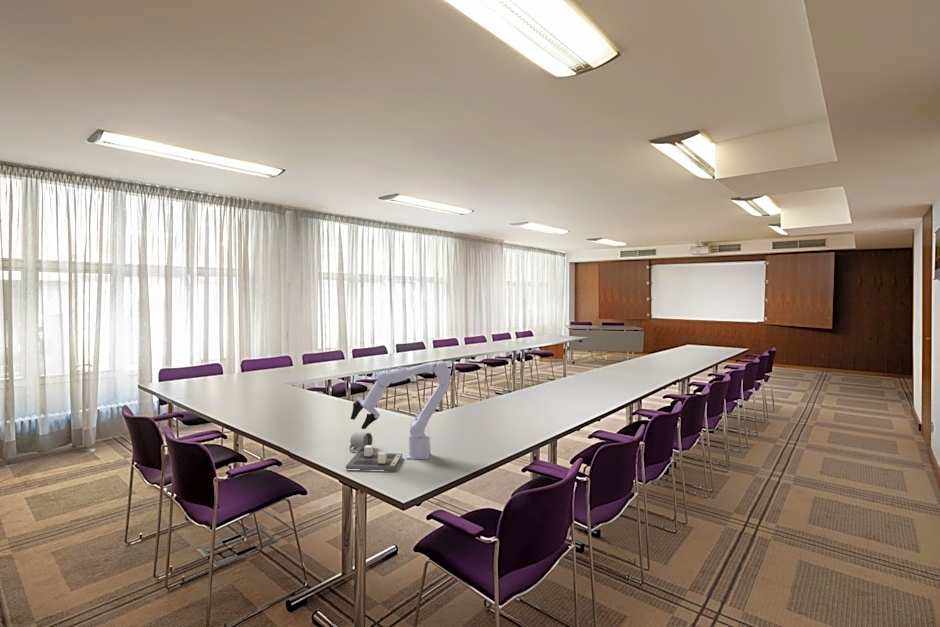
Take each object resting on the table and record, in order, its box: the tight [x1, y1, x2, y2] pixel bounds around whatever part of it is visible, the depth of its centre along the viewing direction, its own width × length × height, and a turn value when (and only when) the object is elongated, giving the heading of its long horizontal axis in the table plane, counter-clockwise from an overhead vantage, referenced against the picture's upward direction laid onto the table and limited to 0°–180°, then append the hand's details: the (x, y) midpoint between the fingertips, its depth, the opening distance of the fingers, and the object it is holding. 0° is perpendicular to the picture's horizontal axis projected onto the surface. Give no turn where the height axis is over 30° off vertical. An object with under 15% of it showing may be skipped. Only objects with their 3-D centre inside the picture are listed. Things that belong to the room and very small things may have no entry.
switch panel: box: [345, 452, 403, 472], centre depth 196 cm, size 20×16×2 cm
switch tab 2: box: [377, 451, 388, 463], centre depth 192 cm, size 3×3×4 cm
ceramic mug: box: [348, 431, 374, 453], centre depth 216 cm, size 11×8×8 cm
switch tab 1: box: [363, 444, 374, 456], centre depth 201 cm, size 3×3×4 cm
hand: (357, 423), depth 203 cm, fingers open, 7 cm apart
